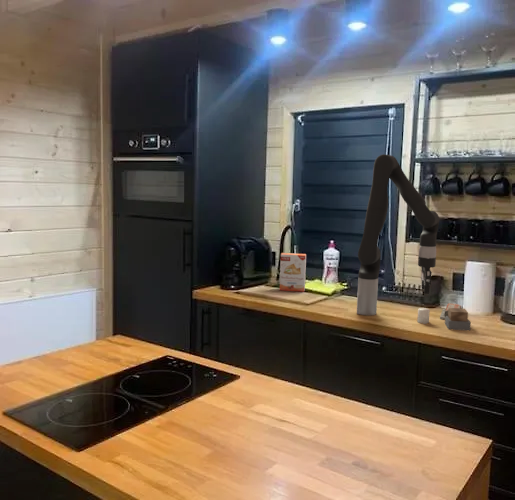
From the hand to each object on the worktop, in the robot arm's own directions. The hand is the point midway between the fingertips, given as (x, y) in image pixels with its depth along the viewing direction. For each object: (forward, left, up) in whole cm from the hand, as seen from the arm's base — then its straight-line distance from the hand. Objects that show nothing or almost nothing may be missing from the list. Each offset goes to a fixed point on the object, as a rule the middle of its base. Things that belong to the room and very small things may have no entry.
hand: (425, 291), depth 250 cm
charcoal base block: (+14, -5, -15) cm, 21 cm away
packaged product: (+15, +15, -15) cm, 26 cm away
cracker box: (-65, +52, -15) cm, 85 cm away
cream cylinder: (0, 0, -14) cm, 14 cm away
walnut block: (+14, -5, -11) cm, 18 cm away
